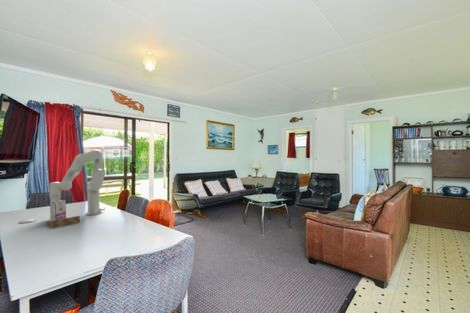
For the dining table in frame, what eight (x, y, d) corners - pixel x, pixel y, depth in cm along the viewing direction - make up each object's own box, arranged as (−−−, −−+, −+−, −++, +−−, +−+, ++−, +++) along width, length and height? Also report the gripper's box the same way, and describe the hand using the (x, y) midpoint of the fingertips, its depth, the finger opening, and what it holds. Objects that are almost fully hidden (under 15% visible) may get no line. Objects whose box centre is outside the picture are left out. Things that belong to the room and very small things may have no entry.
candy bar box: (60, 218, 196) (60, 199, 196) (66, 219, 196) (66, 199, 196) (49, 222, 185) (49, 202, 185) (55, 222, 185) (55, 202, 185)
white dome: (33, 219, 195) (33, 217, 195) (37, 221, 189) (37, 219, 189) (18, 221, 187) (18, 220, 187) (20, 224, 181) (20, 222, 181)
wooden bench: (73, 219, 195) (73, 213, 195) (79, 222, 186) (79, 216, 186) (46, 224, 180) (46, 218, 180) (51, 227, 172) (51, 220, 172)
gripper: (63, 196, 194) (63, 218, 194) (57, 195, 203) (57, 215, 203) (52, 198, 188) (52, 220, 188) (47, 196, 197) (47, 217, 197)
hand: (55, 217), depth 196 cm, fingers closed
